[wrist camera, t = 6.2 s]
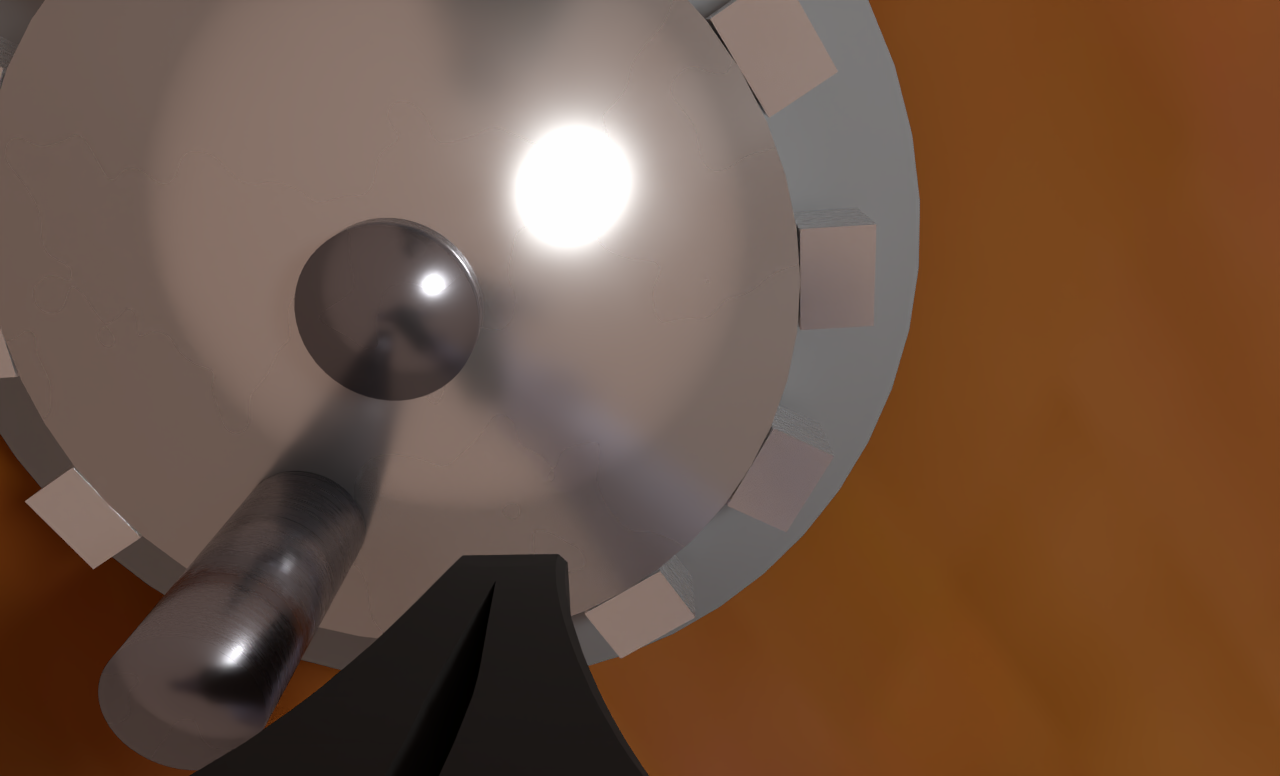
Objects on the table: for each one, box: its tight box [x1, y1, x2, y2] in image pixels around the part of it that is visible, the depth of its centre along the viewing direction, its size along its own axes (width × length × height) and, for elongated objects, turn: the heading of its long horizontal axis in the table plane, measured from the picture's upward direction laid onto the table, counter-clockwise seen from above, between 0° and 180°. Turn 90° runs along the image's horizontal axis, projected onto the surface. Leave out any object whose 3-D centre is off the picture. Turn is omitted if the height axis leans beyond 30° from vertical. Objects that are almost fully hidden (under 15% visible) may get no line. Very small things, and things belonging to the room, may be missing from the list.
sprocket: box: [0, 0, 876, 770], centre depth 12 cm, size 13×13×5 cm
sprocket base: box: [0, 0, 920, 670], centre depth 15 cm, size 15×15×1 cm
